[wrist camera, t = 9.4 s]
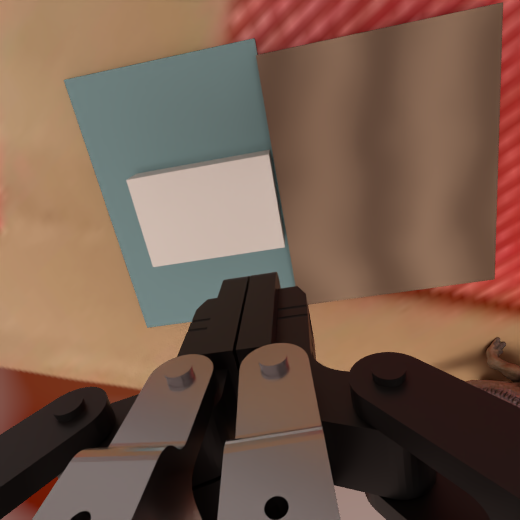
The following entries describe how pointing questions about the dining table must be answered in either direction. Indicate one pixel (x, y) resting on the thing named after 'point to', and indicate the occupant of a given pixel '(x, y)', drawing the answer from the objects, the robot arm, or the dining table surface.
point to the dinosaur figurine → (510, 392)
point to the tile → (209, 209)
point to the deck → (389, 154)
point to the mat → (175, 158)
